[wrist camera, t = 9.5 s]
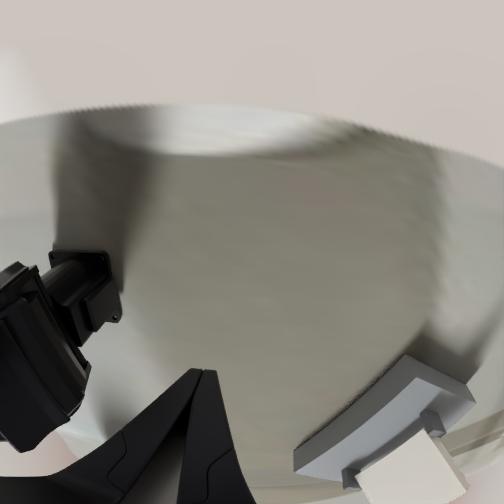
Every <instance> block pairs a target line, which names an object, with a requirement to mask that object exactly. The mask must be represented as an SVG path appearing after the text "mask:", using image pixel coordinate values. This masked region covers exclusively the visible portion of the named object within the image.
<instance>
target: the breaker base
mask: <svg viewBox="0 0 504 504" xmlns="http://www.w3.org/2000/svg"><path fill="white" fill-rule="evenodd" d="M476 404H477V403H476V401H475V399H474V398H473V396H472V394H471V392H470V391H469V389H468V387H467V385H466V384H464V383H462V382H460V381H458V380H456V379H454V378H452V377H450V376H448V375H446V374H444V373H442V372H440V371H438V370H436V369H434V368H432V367H430V366H428V365H426V364H424V363H422V362H420V361H418V360H416V359H414V358H412V357H410V356H408V355H406V354H404V355H403V357H402V358H401V359H400V360H399V361H398V362H397V363H396V364H395V365H394V366H393V367H392V368H391V369H390V370H389V371H388V372H387V373H386V374H385V375H384V376H383V377H382V378H381V379H380V380H379V381H378V382H377V383H376V384H375V385H374V386H373V387H371V388H370V389H369V390H368V391H367V392H366V393H365V394H364V395H363V396H362V397H361V398H359V399H358V400H357V401H356V402H355V403H354V404H353V405H352V406H350V407H349V408H348V409H347V410H346V411H345V412H343V413H342V414H341V415H340V416H339V417H337V418H336V419H335V420H334V421H333V422H331V423H330V424H329V425H328V426H326V427H325V428H324V429H323V430H321V431H320V432H319V433H317V434H316V435H315V436H314V437H312V438H311V439H310V440H308V441H307V442H306V443H304V444H303V445H301V446H300V447H299V448H297V449H296V450H295V451H293V452H294V473H297V474H302V475H307V476H312V477H317V478H322V479H328V480H334V481H340V482H343V489H344V490H350V491H360V490H362V488H361V487H360V485H359V483H358V482H357V480H356V478H355V476H356V475H357V474H359V473H361V472H362V471H364V470H366V469H367V468H369V467H370V466H372V465H373V464H375V463H376V462H378V461H380V460H381V459H383V458H384V457H385V456H387V455H388V454H390V453H391V452H393V451H394V450H396V449H397V448H398V447H400V446H401V445H402V444H404V443H405V442H406V441H408V440H409V439H410V438H412V437H413V436H414V435H416V434H417V433H418V432H419V431H421V430H422V429H423V428H425V430H426V432H427V435H430V436H435V437H440V438H441V437H442V436H443V435H444V434H446V430H448V429H449V428H450V427H451V426H452V425H453V424H455V423H456V422H457V421H458V420H459V419H460V418H462V417H463V416H464V415H465V414H466V413H467V412H468V411H469V410H470V409H471V408H472V407H474V406H475V405H476Z"/></svg>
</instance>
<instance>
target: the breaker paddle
mask: <svg viewBox="0 0 504 504" xmlns="http://www.w3.org/2000/svg"><path fill="white" fill-rule="evenodd" d="M355 478H356V480H357V482H358V483H359V485H360V487H361V488H362V490H363V492H364V493H365V495H366V497H367V498H368V500H369V502H370V503H371V504H448V503H449V502H451V501H453V500H454V499H456V498H457V497H459V496H461V495H462V494H464V493H465V492H467V490H468V488H469V487H470V484H469V483H468V481H467V480H466V478H465V477H464V475H463V474H462V472H461V471H460V469H459V468H458V466H457V465H456V463H455V462H454V460H453V459H452V457H451V456H450V454H449V453H448V452H447V450H446V449H445V447H444V446H443V444H442V443H441V441H440V440H439V439H438V437H435V436H430V435H427V432H426V430H425V428H423V429H422V430H421V431H419V432H418V433H417V434H416V435H414V436H413V437H412V438H410V439H409V440H408V441H406V442H405V443H404V444H402V445H401V446H400V447H398V448H397V449H396V450H394V451H393V452H391V453H390V454H388V455H387V456H385V457H384V458H383V459H381V460H380V461H378V462H376V463H375V464H373V465H372V466H370V467H369V468H367V469H366V470H364V471H362V472H361V473H359V474H357V475H356V476H355Z"/></svg>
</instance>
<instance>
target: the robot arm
mask: <svg viewBox="0 0 504 504" xmlns="http://www.w3.org/2000/svg"><path fill="white" fill-rule="evenodd" d="M53 255H54V256H53ZM48 256H49V261H50V265H51V270H49V271H48V272H47V273H45V274H44V275H42V276H41V277H40V275H39V273H38V272H39V270H38V267H37V265H34V266H31V267H28V266H27V267H26V266H24V265H22V264H21V263H20V262H19V261H17V262H15V263H13V264H11V265H10V266H8V267H7V268H5V269H4V270H2V271H1V272H0V442H9V443H10V444H11V445H12V447H14V449H16V451H18V452H19V453H23V452H26V451H30V450H33V449H34V448H35V447H36V446H37V445H38V444H39V443H40V442H41V441H42V440H43V439H44V438H45V437H46V436H47V435H48V434H49V433H50V432H52V431H53V430H55V429H56V428H57V427H59V426H61V425H63V424H65V423H67V422H69V421H70V417H71V416H72V415H73V414H75V412H76V411H77V410H78V409H79V407H80V405H81V403H82V400H83V399H84V396H85V394H84V393H85V389H86V385H87V382H88V378H89V374H90V371H91V367H92V366H91V365H90V363H89V362H88V361H86V359H85V358H84V356H83V354H82V353H81V351H80V350H79V348H78V347H82V346H83V344H84V343H85V342H86V341H87V339H88V338H89V337H90V336H91V335H92V333H93V332H97V331H98V330H99V329H100V328H101V326H102V325H103V324H104V323H105V322H112V323H118V322H119V321H120V320H121V314H120V309H119V302H118V297H117V293H116V288H115V283H114V279H113V277H112V272H111V267H110V262H109V257H108V254H107V253H106V252H105V251H83V250H52V251H50V252H49V254H48ZM101 256H102V257H103V258H104V260H103V259H102V258H101ZM114 316H116V318H115V317H114ZM0 504H256V502H255V500H254V498H253V496H252V494H251V492H250V490H249V488H248V486H247V483H246V481H245V479H244V476H243V474H242V471H241V468H240V465H239V462H238V459H237V455H236V451H235V448H234V444H233V440H232V436H231V432H230V428H229V423H228V419H227V415H226V411H225V406H224V402H223V398H222V393H221V389H220V384H219V380H218V375H217V371H216V370H207V369H205V370H204V371H203V370H202V369H196V368H191V369H189V370H188V371H187V372H186V373H185V374H184V375H182V376H181V377H180V378H179V379H178V380H177V381H176V382H175V383H174V384H172V385H171V386H170V387H169V388H168V389H167V390H166V391H165V392H164V393H162V394H161V395H160V396H159V397H158V398H157V399H156V400H154V401H153V402H152V403H151V404H150V405H149V406H148V407H147V408H145V409H144V410H143V411H142V412H141V413H140V414H138V415H137V416H136V417H135V418H134V419H133V420H132V421H130V422H129V423H128V424H127V425H126V426H125V427H123V428H122V430H120V431H118V432H117V433H116V434H115V435H114V436H113V437H111V438H110V439H109V440H107V441H106V442H105V443H104V444H102V445H101V446H99V447H98V448H97V449H95V450H94V451H92V452H91V453H89V454H88V455H86V456H84V457H83V458H81V459H80V460H78V461H76V462H75V463H73V464H71V465H70V466H68V467H67V468H65V469H63V470H61V471H59V472H57V473H55V474H52V475H48V476H40V477H1V476H0Z"/></svg>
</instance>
